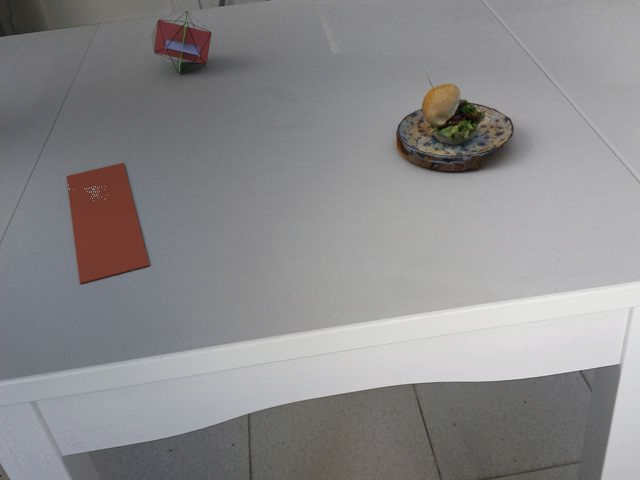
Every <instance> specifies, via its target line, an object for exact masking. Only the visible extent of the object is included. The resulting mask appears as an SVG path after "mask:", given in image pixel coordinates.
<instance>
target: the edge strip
mask: <svg viewBox="0 0 640 480" xmlns="http://www.w3.org/2000/svg"><path fill="white" fill-rule="evenodd" d="M129 182H130V181H129V178H128V174H127V171H126V167H125V163H124V162H119V163H116V164H111V165H107V166H103V167H99V168H94V169H89V170H85V171H82V172H78V173H73V174H69V175H66V183H67V191H68V198H69V207H70V216H71V223H72V232H73V239H74V247H75V255H76V263H77V272H78V279H79V285H82V284H85V283H90V282H94V281H98V280H101V279H104V278H105V279H106V278H109V277H112V276H113V277H114V276H117V275H120V274H124V273H129V272H132V271H136V270H139V269H143V268H147V267H150V262H149V258H148V254H147V249H146V245H145V242H144V238H143V234H142V230H141V225H140V222H139V219H138V218H139V217H138V214H137V211H136V210H137V209H136V206H135V202H134V198H133V194H132V191H131V186H130V183H129ZM68 184H69V186H68ZM93 186H94V187H93ZM95 186H96V188H95ZM99 186H100V187H99ZM105 186H106V187H105ZM68 187H69V188H70V190H69V189H68ZM89 187H90V188H89ZM91 187H92V189H93V188H94V189H95V191H96V193H95V191H94V190H92V189H91ZM97 187H98V189H99V190H98V189H97ZM101 187H102V188H101ZM84 188H85V189H84ZM86 188H87V190H86ZM88 188H89V189H88ZM73 189H74V190H73ZM104 189H105V190H104ZM87 191H88V192H87ZM89 191H90V193H89ZM91 191H92V193H91ZM93 191H94V192H93ZM97 191H98V193H97ZM99 191H100V192H99ZM93 193H94V194H95V196H96V194H97V196H98V197H97V196H96V197H95V196H94V194H93ZM92 194H93V195H92ZM98 194H99V195H98ZM107 195H108V196H107ZM91 196H92V197H91ZM93 196H94V197H93ZM101 196H102V197H101ZM90 198H91V199H90ZM92 198H93V199H92ZM98 198H99V199H98ZM104 198H105V199H106V200H105V199H104ZM93 200H94V201H93Z"/></svg>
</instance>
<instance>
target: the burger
mask: <svg viewBox="0 0 640 480" xmlns="http://www.w3.org/2000/svg"><path fill="white" fill-rule="evenodd" d="M426 76H427V77H426V78H427V79H428V82H429V84H430V85H431V86H432V88H430V90H428V92H427V93H426V94H425V95H424V97H423V100H422V103H421V108H420V109H417V110H414V111H413V112H410V113H409V114H407V115H406V116H404V118H402V120H401V121H400V122H399V123H398V125H397V129H396V132H395V136H396V148H397V150H398V153H399V154H400V155H401V156H402V157H403V158H405V159H406V160H407V161H409V162H411V163H413V164H415V165H416V166H420V167H423V168H426V169H432V170H438V171H448V172H449V171H450V172H461V171H465V170H469V169H471V170H476V169H480V168H482V167H483V165H484V163H485V161H486V159H487V157H488V155H490V154H492V153H494V152H497V151H499V150H501V149H503V148H504V147H505V145H506V144H507V142H508V141H509V140H510V139H511V138H512V137H513V134H514V129H515V128H514V124H513V122H512V119H511V118H510V117H509V116H507V115H506V114H504V113H502V112H501V111H498V109H496V108H493V107H489V106H486V105H485V104H479V103H475V102H470V101H468V99H466V98H465V99H461V90H460V89H459V87H458V85H456V84H453V83H442V84H438V85H436V86H433V84H432V82H431V80H430V78H429V75H428V74H426Z"/></svg>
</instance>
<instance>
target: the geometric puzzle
mask: <svg viewBox="0 0 640 480" xmlns="http://www.w3.org/2000/svg"><path fill="white" fill-rule="evenodd" d="M182 13H183V14H181V15H180V16H179V17H178V18H177V19H176V20H172V19H157V21H156V24H155V25H154V27H153V29H152V32H151V34H150V37H151V42H152V47H153V48H152V50H153V54H155V55H157V57H159V56H160V57H161V56H162V57H163V58H164V57H165V58H167V59H169V60H171V62H172V64H173V66H174V68H175V69H173V68H172V67H171V68H172V70H173V71H176V73H177V74H178V76H180V75H181V74H183V73H186V72H190V71H191V69H190V70H186V69H187V68H188V67H189V66H191V64H196V65H201V66H197V67H195V68H193V70H194V69H197V68H200V67H202V65H204V66H207V65H208V58H209V51H210V46H211V45H210V44H211V41H212V34H213V31H210V30H208V29H206V26H205V25H204V24H202V27H201V26H198V25H196V24H194V23H193V21H192V18H191V16H190V13H189V11H188V9H185V10H184V11H183V12H182ZM175 15H176V13H175V14H172V15H168V16H166V17H167V18H169V17H171V16H175ZM183 15H185V19H184V20H179V19H180V18H181V17H182V16H183ZM166 17H164V18H166ZM188 17H189V20H190V21H188ZM194 19H196V18H195V17H194ZM196 20H197V21H198V19H196ZM178 21H179V22H181V23H182V22H183V24H179V23H178V24H177V22H178ZM189 24H190V25H192V26H193V27H190V26H189ZM196 27H197V28H196ZM203 27H204V28H203ZM198 28H199V29H198ZM173 58H176V59H177V60H176V59H173ZM182 60H186V61H187V62H186V61H185V62H184V61H182ZM174 61H175V62H177V63H178V69H177V66H176V65H175V62H174ZM188 61H189V62H188ZM163 62H164V63H165V64H167V62H166V61H164V60H163ZM181 63H182V64H188V65H187V66H186V67H185V68H184V69H183V70H182V71H181ZM185 70H186V71H185Z"/></svg>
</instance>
